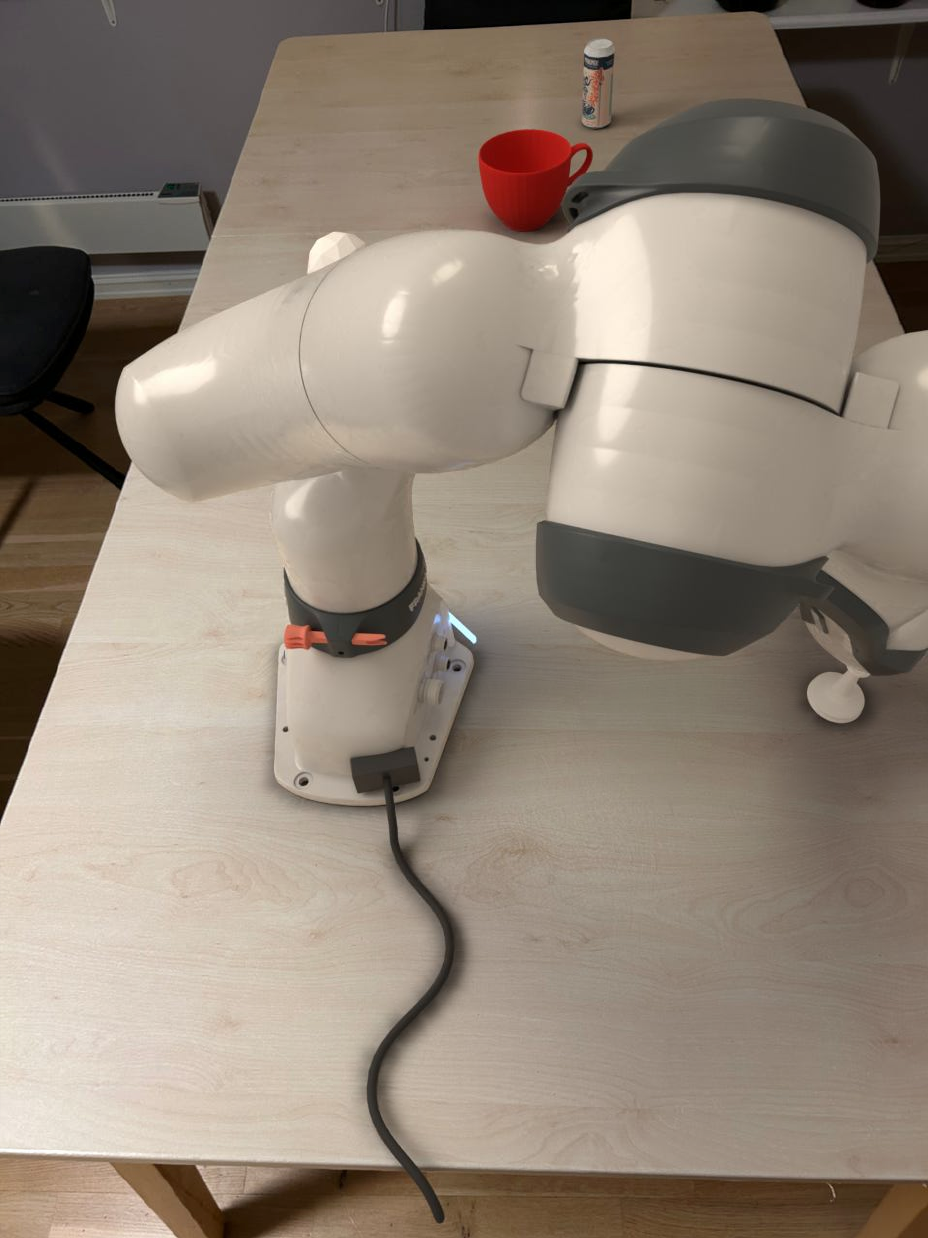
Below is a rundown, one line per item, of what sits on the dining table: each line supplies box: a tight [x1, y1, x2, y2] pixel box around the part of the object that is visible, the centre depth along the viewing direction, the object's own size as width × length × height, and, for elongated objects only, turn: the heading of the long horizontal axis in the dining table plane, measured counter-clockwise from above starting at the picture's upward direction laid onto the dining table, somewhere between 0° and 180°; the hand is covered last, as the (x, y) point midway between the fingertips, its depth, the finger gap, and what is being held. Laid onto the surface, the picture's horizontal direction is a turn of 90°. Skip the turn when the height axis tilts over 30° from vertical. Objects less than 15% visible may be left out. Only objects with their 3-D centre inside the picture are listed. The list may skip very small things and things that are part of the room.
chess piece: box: [806, 665, 871, 724], centre depth 79 cm, size 5×5×10 cm
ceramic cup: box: [477, 128, 594, 232], centre depth 133 cm, size 13×17×10 cm
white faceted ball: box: [306, 231, 367, 275], centre depth 125 cm, size 9×9×12 cm
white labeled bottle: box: [581, 38, 616, 130], centre depth 149 cm, size 5×5×12 cm
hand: (870, 476), depth 90 cm, fingers closed
